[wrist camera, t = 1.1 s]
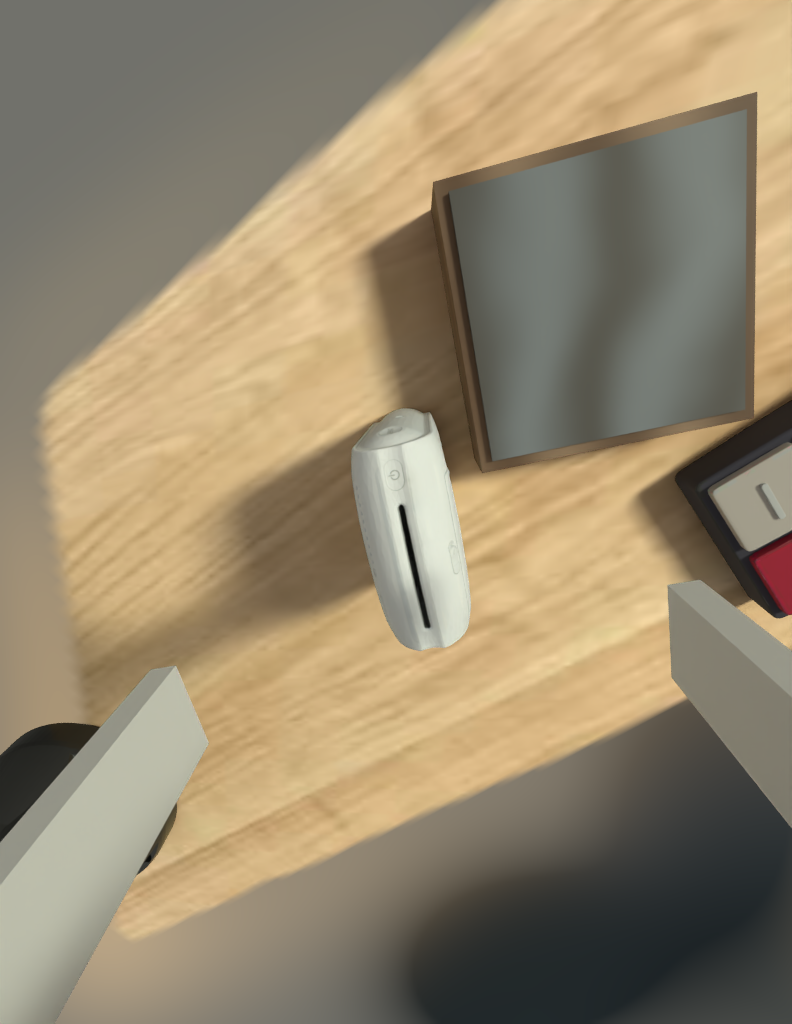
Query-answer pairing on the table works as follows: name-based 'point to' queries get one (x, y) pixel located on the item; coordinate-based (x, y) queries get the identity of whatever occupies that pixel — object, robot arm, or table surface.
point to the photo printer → (412, 529)
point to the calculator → (750, 506)
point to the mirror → (605, 286)
